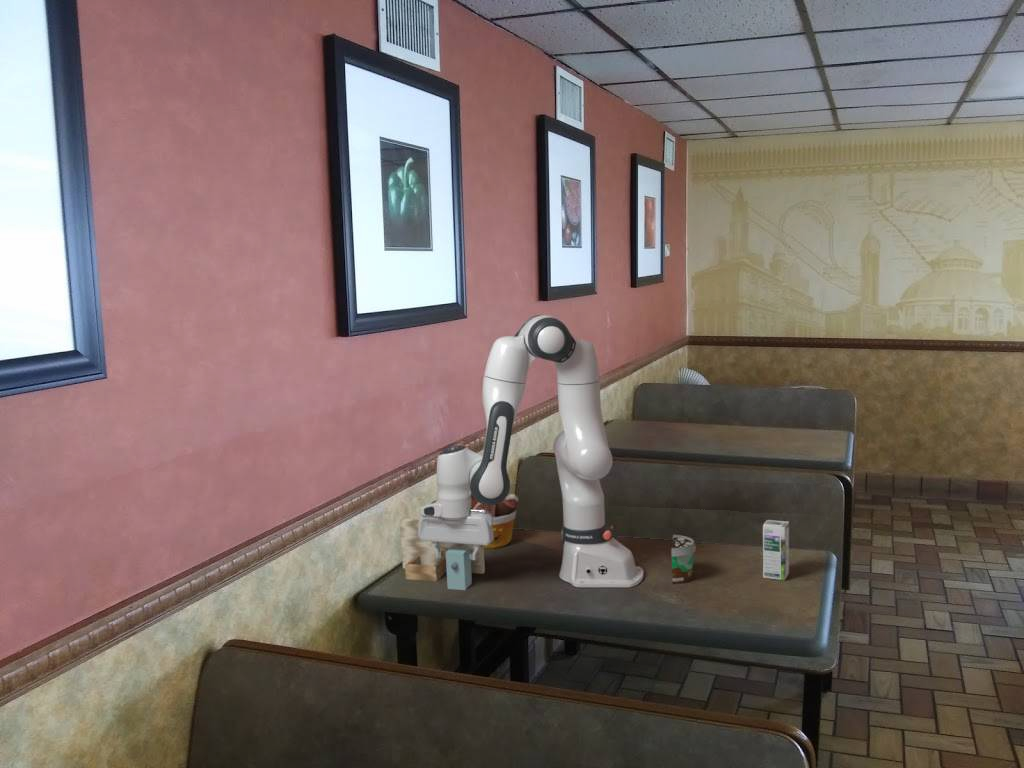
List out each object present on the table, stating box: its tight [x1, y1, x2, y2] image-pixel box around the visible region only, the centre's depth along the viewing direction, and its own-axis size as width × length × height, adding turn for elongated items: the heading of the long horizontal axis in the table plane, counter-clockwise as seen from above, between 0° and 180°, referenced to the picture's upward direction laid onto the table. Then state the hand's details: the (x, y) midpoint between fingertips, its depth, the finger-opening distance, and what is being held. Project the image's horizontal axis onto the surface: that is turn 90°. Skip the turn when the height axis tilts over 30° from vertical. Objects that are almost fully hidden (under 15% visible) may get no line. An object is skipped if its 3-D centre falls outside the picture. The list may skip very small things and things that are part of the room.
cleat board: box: [399, 518, 486, 582], centre depth 256 cm, size 24×10×14 cm, turn 72°
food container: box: [671, 534, 697, 585], centre depth 246 cm, size 12×6×10 cm, turn 168°
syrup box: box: [762, 519, 790, 581], centre depth 244 cm, size 6×6×14 cm
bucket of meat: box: [471, 490, 519, 550], centre depth 281 cm, size 20×16×20 cm
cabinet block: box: [446, 546, 473, 591], centre depth 247 cm, size 5×6×10 cm
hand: (456, 558), depth 247 cm, fingers open, 8 cm apart
